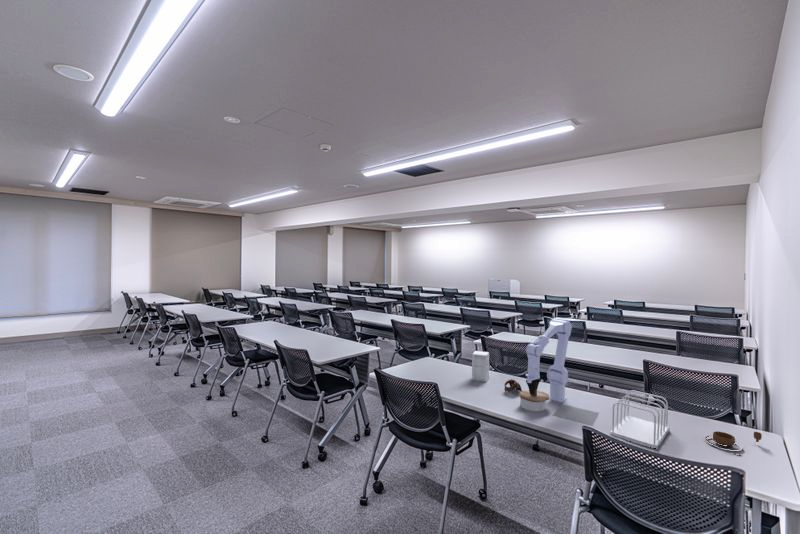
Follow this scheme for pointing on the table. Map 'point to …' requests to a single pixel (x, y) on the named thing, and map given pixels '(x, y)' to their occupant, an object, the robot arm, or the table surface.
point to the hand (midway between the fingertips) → (533, 393)
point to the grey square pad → (576, 414)
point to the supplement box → (480, 366)
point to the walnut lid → (534, 396)
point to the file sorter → (641, 423)
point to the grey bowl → (533, 405)
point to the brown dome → (512, 386)
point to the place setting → (729, 438)
